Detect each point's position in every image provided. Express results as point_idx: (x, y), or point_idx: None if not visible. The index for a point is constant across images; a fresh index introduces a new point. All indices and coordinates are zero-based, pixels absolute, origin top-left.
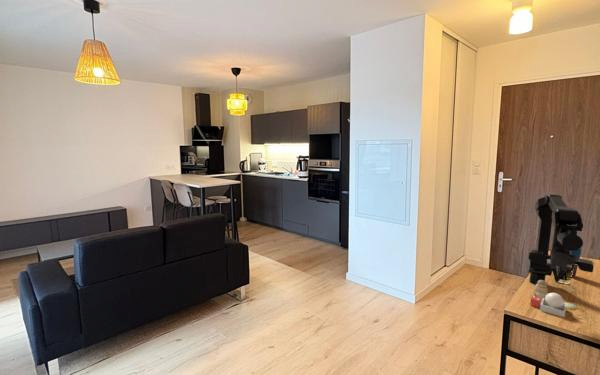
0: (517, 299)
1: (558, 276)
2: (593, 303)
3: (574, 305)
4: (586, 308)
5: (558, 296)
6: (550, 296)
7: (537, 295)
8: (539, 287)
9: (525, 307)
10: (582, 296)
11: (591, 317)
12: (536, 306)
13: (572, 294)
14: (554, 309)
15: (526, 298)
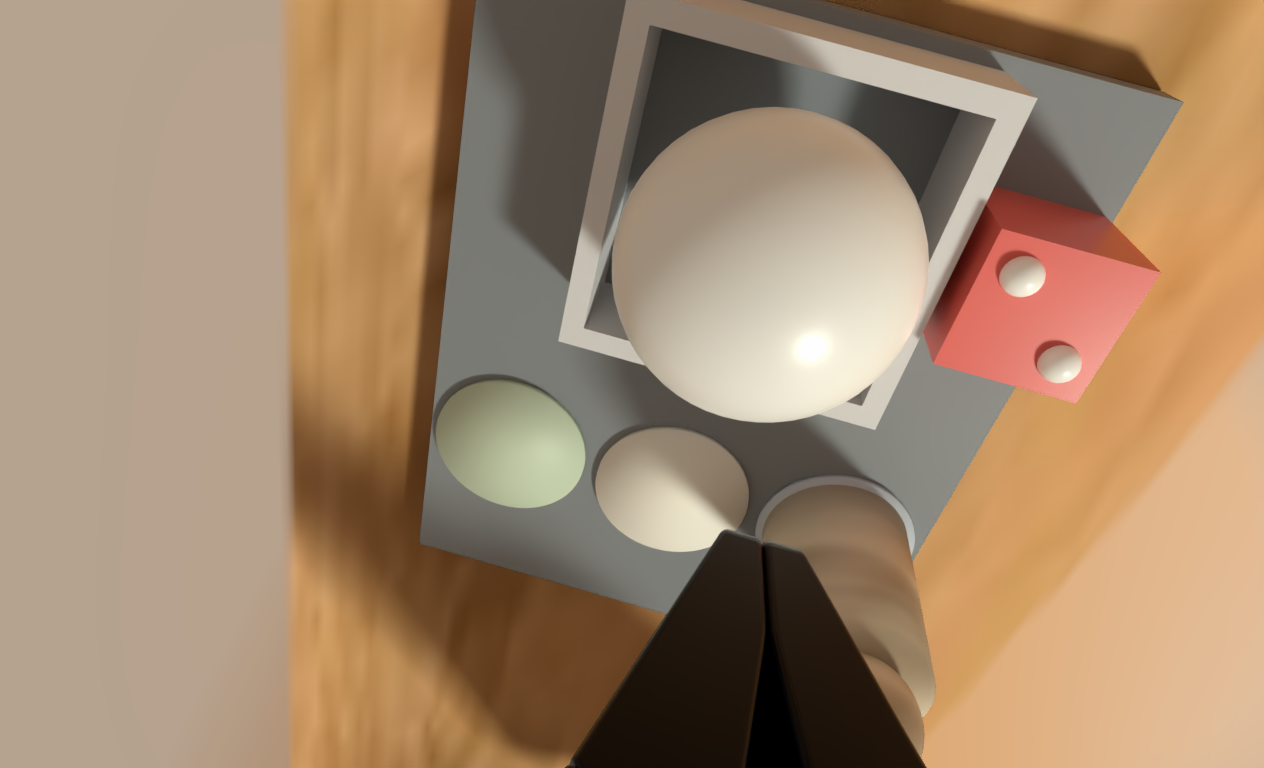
0: (1170, 428)
1: (736, 710)
2: (297, 619)
3: (460, 470)
4: (356, 493)
5: (712, 250)
6: (873, 237)
7: (892, 532)
8: (898, 638)
9: (1165, 188)
10: (378, 718)
11: (316, 283)
12: (1019, 197)
13: (455, 731)
14: (802, 33)
15: (1002, 503)
